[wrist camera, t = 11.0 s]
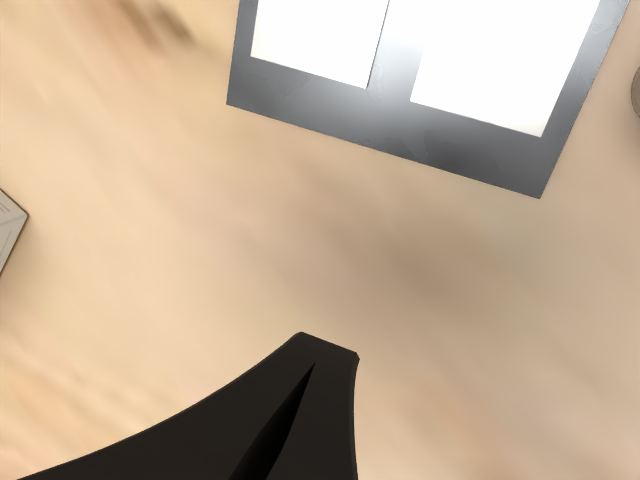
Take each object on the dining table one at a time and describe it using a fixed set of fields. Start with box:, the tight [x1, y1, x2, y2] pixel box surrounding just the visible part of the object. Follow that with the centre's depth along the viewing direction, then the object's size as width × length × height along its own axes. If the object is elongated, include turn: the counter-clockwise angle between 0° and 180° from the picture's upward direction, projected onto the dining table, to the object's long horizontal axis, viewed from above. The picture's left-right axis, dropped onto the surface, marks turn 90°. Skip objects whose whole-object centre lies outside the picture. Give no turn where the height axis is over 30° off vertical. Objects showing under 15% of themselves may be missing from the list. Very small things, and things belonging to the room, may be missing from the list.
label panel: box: [226, 0, 630, 199], centre depth 16 cm, size 12×10×1 cm
